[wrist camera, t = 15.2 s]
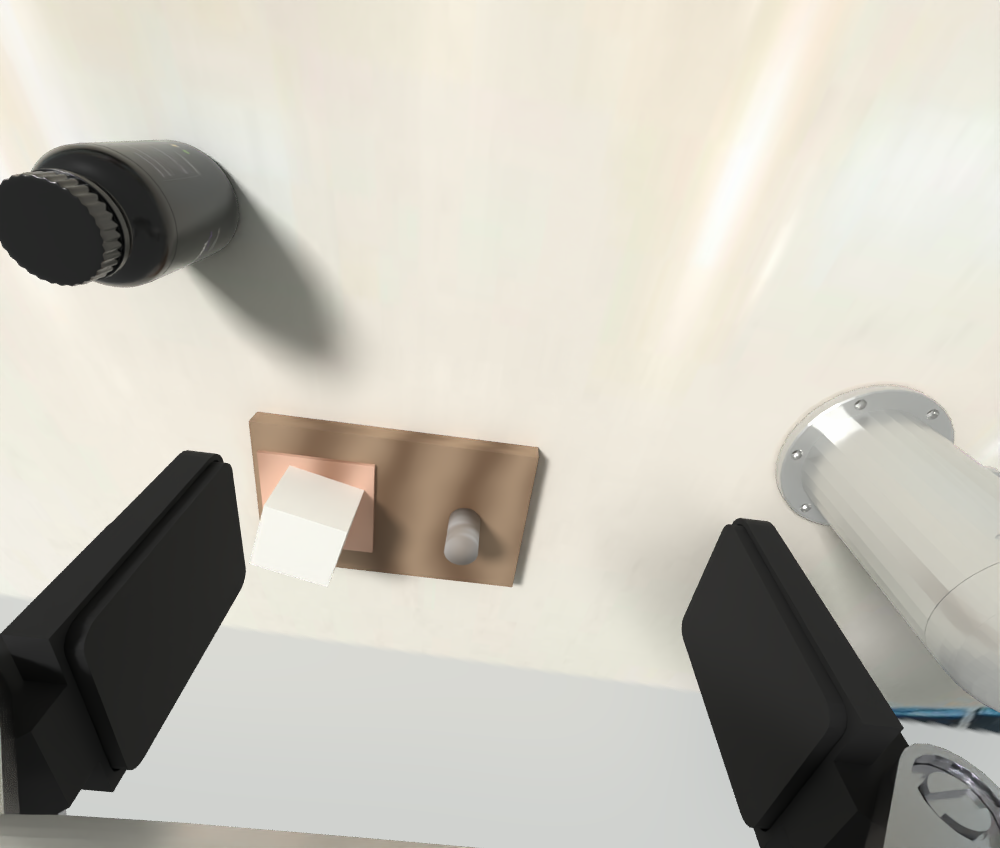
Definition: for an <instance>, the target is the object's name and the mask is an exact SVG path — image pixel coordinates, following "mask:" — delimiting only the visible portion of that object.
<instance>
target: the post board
mask: <svg viewBox="0 0 1000 848" xmlns="http://www.w3.org/2000/svg"><path fill="white" fill-rule="evenodd" d="M249 428H250V437H251V446H252V455H253V464H254V473H255V482H256V491H257V500H258V509H259V518H260V519H261V515H262V511H263V507H264V504H265V503H266V501H267V500H268V498H269V497H270V495H271V494H272V492H273V490H274V489H275V487H276V486H277V484H278V483H279V481H280V479H281V478H282V476H283V475H284V473H285V472H286V470H287V469H288V467H289V465H291V466H294V467H297V468H299V469H302V470H305V471H308V472H311V473H314V474H317V475H320V476H323V477H326V478H329V479H332V480H335V481H338V482H341V483H344V484H347V485H350V486H353V487H356V488H359V489H362V490H364V492H363V495H362V498H361V500H360V503H359V506H358V509H357V511H356V514H355V517H354V520H353V522H352V525H351V528H350V531H349V533H348V536H347V539H346V541H345V544H344V547H343V549H342V552H341V554H340V557H339V559H338V562H337V564H336V567H339V568H348V569H357V570H366V571H375V572H383V573H392V574H401V575H410V576H419V577H428V578H436V579H445V580H454V581H463V582H472V583H480V584H489V585H498V586H507V587H512V585H513V580H514V576H515V571H516V566H517V561H518V556H519V551H520V547H521V542H522V537H523V532H524V527H525V522H526V518H527V513H528V508H529V503H530V498H531V493H532V488H533V484H534V479H535V474H536V469H537V464H538V459H539V454H538V447H530V446H522V445H514V444H506V443H498V442H491V441H483V440H475V439H467V438H459V437H451V436H443V435H435V434H427V433H420V432H412V431H404V430H396V429H388V428H380V427H372V426H364V425H357V424H349V423H341V422H333V421H325V420H317V419H309V418H301V417H293V416H286V415H278V414H270V413H262V412H257V413H256V414H255V415H254V416H253V417H252V418H251V419H250V421H249Z"/></svg>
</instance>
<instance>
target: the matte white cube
mask: <svg viewBox="0 0 1000 848" xmlns="http://www.w3.org/2000/svg"><path fill="white" fill-rule="evenodd" d="M363 492H364V490H362V489H359V488H356V487H353V486H350V485H347V484H344V483H341V482H338V481H335V480H332V479H329V478H326V477H323V476H320V475H317V474H314V473H311V472H308V471H305V470H302V469H299V468H297V467H294V466H291V465H289V467H288V469H287V470H286V472H285V473H284V475H283V476H282V478H281V479H280V481H279V483H278V484H277V486H276V487H275V489H274V490H273V492H272V494H271V495H270V497H269V498H268V500H267V501H266V503H265V504H264V507H263V511H262V515H261V519H260V522H259V526H258V530H257V534H256V538H255V542H254V546H253V550H252V554H251V558H250V562H249V564H251V565H255V566H258V567H261V568H265V569H268V570H271V571H275V572H278V573H281V574H285V575H288V576H291V577H295V578H298V579H301V580H305V581H308V582H312V583H315V584H318V585H322V586H325V587H328V585H329V582H330V580H331V577H332V575H333V572H334V569H335V567H336V564H337V562H338V559H339V557H340V554H341V552H342V549H343V547H344V544H345V541H346V539H347V536H348V533H349V531H350V528H351V525H352V522H353V520H354V517H355V514H356V511H357V509H358V506H359V503H360V500H361V498H362V495H363Z"/></svg>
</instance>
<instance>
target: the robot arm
mask: <svg viewBox="0 0 1000 848" xmlns="http://www.w3.org/2000/svg"><path fill="white" fill-rule="evenodd" d="M776 479H777V485H778V488H779V490H780V492H781V494H782V496H783V498H784V499H785V500H786V502H787V503H788V504H789V506H790V507H791V508H792V509H793V510H794V511H795V512H796V513H797V514H799V515H800V516H802V517H804V518H806V519H808V520H810V521H812V522H816V523H819V524H822V525H830V526H831V527H832V528H833V529H834V531H835V532H836V533H837V534H838V536H839V537H840V538H841V539H842V541H843V542H844V543H845V545H846V546H847V547H848V548H849V550H850V551H851V552H852V554H853V555H854V556H855V557H856V559H857V560H858V561H859V562H860V564H861V565H862V566H863V568H864V569H865V570H866V571H867V573H868V574H869V575H870V577H871V578H872V579H873V580H874V582H875V583H876V584H877V585H878V587H879V588H880V589H881V591H882V592H883V593H884V594H885V596H886V597H887V598H888V600H889V601H890V602H891V603H892V605H893V606H894V607H895V609H896V610H897V611H898V612H899V614H900V615H901V616H902V617H903V619H904V620H905V621H906V623H907V624H908V625H909V626H910V628H911V629H912V630H913V632H914V633H915V634H916V635H917V637H918V638H919V639H920V640H921V642H922V643H923V644H924V646H925V647H926V648H927V649H928V651H929V652H930V653H931V654H932V656H933V657H934V658H935V659H936V661H937V662H938V663H939V664H940V666H941V667H942V668H943V669H944V671H945V672H946V673H947V674H948V675H949V676H950V677H951V678H952V680H953V681H954V682H955V683H956V684H958V685H959V686H960V687H961V688H962V689H963V690H964V691H966V692H967V693H968V694H970V695H971V696H972V697H974V698H975V699H977V700H978V701H980V702H981V703H982V704H984V705H986V706H988V707H990V708H992V709H994V710H996V711H998V712H1000V472H999V471H998V470H997V469H996V468H993V467H988V466H983V465H982V464H980V463H979V462H978V461H976V460H975V459H974V458H972V457H971V456H969V455H968V454H967V453H965V452H964V451H963V450H961V449H960V448H959V447H957V446H956V445H955V444H954V428H953V425H952V421H951V418H950V417H949V415H948V414H947V412H946V411H945V409H944V408H943V407H942V406H940V405H939V404H938V403H937V402H936V401H935V400H933V399H932V398H930V397H928V396H927V395H925V394H924V393H922V392H920V391H917V390H914V389H912V388H909V387H904V386H896V385H875V386H870V387H864V388H859V389H856V390H853V391H850V392H847V393H844V394H841V395H839V396H837V397H835V398H833V399H831V400H829V401H827V402H825V403H824V404H822V405H821V406H819V407H818V408H816V409H815V410H814V411H812V412H811V413H809V414H808V415H807V416H806V417H805V418H804V419H803V420H802V421H801V422H800V423H799V424H798V425H797V426H796V427H795V428H794V430H793V431H792V432H791V433H790V435H789V436H788V437H787V439H786V441H785V443H784V445H783V447H782V448H781V450H780V453H779V457H778V460H777V464H776ZM245 573H246V568H245V560H244V553H243V546H242V538H241V531H240V523H239V516H238V509H237V501H236V494H235V486H234V479H233V472H232V467H231V465H230V464H228V463H224V462H223V459H222V457H221V456H220V455H218V454H213V453H205V452H197V451H188V450H187V451H183V452H182V453H180V454H179V455H178V456H177V457H176V458H175V459H174V460H173V461H172V462H171V463H170V464H169V465H168V466H167V467H166V468H165V469H164V470H163V471H162V472H161V473H160V474H159V475H158V476H157V477H156V478H155V479H154V480H153V481H152V482H151V483H150V484H149V485H148V486H147V487H146V488H145V490H144V491H143V492H142V493H141V494H140V495H139V496H138V497H137V498H136V499H135V500H134V501H133V502H132V503H131V504H130V505H129V506H128V507H127V508H126V509H125V510H124V511H123V512H122V513H121V514H120V515H119V516H118V517H117V518H116V519H115V520H114V521H113V522H112V523H110V524H109V525H108V526H107V527H106V528H105V529H104V530H103V531H102V532H101V533H100V534H99V535H98V536H97V537H96V538H95V539H94V540H93V541H92V542H91V543H90V544H89V545H88V546H87V547H86V548H85V549H84V550H83V551H82V552H81V553H80V554H79V555H78V556H77V557H76V558H75V559H74V560H73V561H72V562H71V563H70V564H69V565H68V566H67V567H66V568H65V569H64V570H63V571H62V572H61V573H60V574H59V575H58V576H57V577H56V578H55V579H54V580H53V581H52V582H51V583H50V584H49V585H48V586H47V587H46V588H45V589H44V590H43V591H42V592H41V593H40V594H39V595H38V596H37V597H36V598H35V599H34V600H33V601H32V602H31V603H30V605H28V606H27V608H26V609H25V610H24V611H23V612H22V613H21V614H20V615H19V616H18V617H17V618H16V619H15V620H14V621H13V622H12V623H11V624H10V625H9V626H8V627H7V628H6V629H5V630H4V631H3V632H2V633H1V634H0V848H473V847H462V846H450V845H439V844H427V843H415V842H404V841H393V840H381V839H371V838H359V837H346V836H335V835H323V834H311V833H298V832H287V831H275V830H274V831H273V830H262V829H251V828H238V827H226V826H215V825H203V824H191V823H178V822H162V821H147V820H131V819H115V818H99V817H84V816H67V815H66V809H67V808H69V807H70V806H71V804H72V802H73V801H74V800H75V798H76V796H77V795H78V793H79V792H80V790H81V789H83V790H94V791H106V792H113V791H114V790H115V788H116V786H117V785H118V783H119V781H120V780H121V778H122V776H123V774H124V773H125V771H126V770H133V769H134V768H136V767H137V766H138V765H139V764H140V763H141V761H142V760H143V758H144V757H145V755H146V753H147V751H148V749H149V748H150V746H151V745H152V743H153V741H154V739H155V737H156V736H157V734H158V732H159V731H160V729H161V727H162V725H163V724H164V722H165V720H166V718H167V717H168V715H169V713H170V711H171V710H172V708H173V706H174V705H175V703H176V701H177V699H178V698H179V696H180V694H181V692H182V691H183V689H184V687H185V685H186V684H187V682H188V680H189V679H190V677H191V675H192V673H193V671H194V670H195V668H196V666H197V665H198V663H199V661H200V659H201V658H202V656H203V654H204V652H205V651H206V649H207V647H208V645H209V644H210V642H211V640H212V639H213V637H214V635H215V633H216V632H217V630H218V628H219V626H220V625H221V623H222V621H223V620H224V618H225V616H226V614H227V613H228V611H229V609H230V607H231V606H232V604H233V602H234V600H235V599H236V597H237V595H238V593H239V592H240V590H241V588H242V586H243V583H244V579H245ZM682 636H683V640H684V643H685V646H686V649H687V652H688V655H689V658H690V661H691V664H692V667H693V670H694V673H695V676H696V679H697V682H698V685H699V688H700V691H701V694H702V697H703V700H704V703H705V706H706V710H707V712H708V716H709V719H710V722H711V725H712V728H713V731H714V734H715V737H716V740H717V743H718V746H719V749H720V752H721V755H722V758H723V761H724V764H725V767H726V770H727V773H728V776H729V779H730V782H731V786H732V789H733V792H734V795H735V798H736V801H737V804H738V807H739V809H740V813H741V815H742V818H743V820H744V821H745V823H746V824H747V825H748V826H749V827H751V828H754V831H755V834H756V837H757V840H758V842H759V846H760V848H1000V788H999V787H998V786H997V785H995V784H994V783H993V782H992V781H991V780H990V779H989V778H988V777H987V776H986V775H985V774H983V772H981V771H980V770H979V769H977V768H976V767H975V766H973V765H972V764H970V763H969V762H968V761H966V760H965V759H963V758H962V757H960V756H958V755H956V754H954V753H952V752H950V751H948V750H946V749H944V748H940V747H936V746H933V745H930V744H913V745H911V746H909V745H908V744H907V742H906V740H905V739H904V737H903V736H902V734H901V731H902V730H903V726H902V725H901V723H900V722H899V720H898V718H897V717H896V715H895V714H894V712H893V711H892V709H891V708H890V706H889V704H888V703H887V701H886V700H885V698H884V697H883V695H882V693H881V692H880V690H879V689H878V687H877V686H876V684H875V683H874V681H873V679H872V678H871V676H870V675H869V673H868V672H867V670H866V669H865V667H864V665H863V664H862V662H861V661H860V659H859V658H858V656H857V655H856V653H855V651H854V650H853V648H852V647H851V645H850V644H849V642H848V641H847V639H846V637H845V636H844V634H843V633H842V631H841V630H840V628H839V627H838V625H837V623H836V622H835V620H834V619H833V617H832V616H831V614H830V613H829V611H828V609H827V608H826V606H825V605H824V603H823V602H822V600H821V599H820V597H819V595H818V594H817V592H816V591H815V589H814V588H813V586H812V585H811V583H810V581H809V580H808V578H807V577H806V575H805V574H804V572H803V570H802V569H801V567H800V566H799V564H798V563H797V561H796V560H795V558H794V556H793V555H792V553H791V552H790V550H789V549H788V547H787V546H786V544H785V542H784V541H783V539H782V538H781V536H780V535H779V533H778V532H777V530H776V528H775V527H774V526H773V525H772V524H771V523H770V522H767V521H760V520H752V519H743V518H739V519H736V520H735V521H734V522H733V524H732V525H730V524H729V525H726V526H725V527H724V528H723V530H722V532H721V535H720V537H719V539H718V541H717V544H716V546H715V548H714V550H713V552H712V555H711V557H710V559H709V561H708V564H707V566H706V568H705V570H704V573H703V575H702V577H701V579H700V582H699V584H698V586H697V588H696V591H695V593H694V595H693V597H692V600H691V602H690V604H689V606H688V609H687V611H686V613H685V615H684V618H683V621H682Z"/></svg>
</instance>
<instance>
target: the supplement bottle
mask: <svg viewBox="0 0 1000 848" xmlns="http://www.w3.org/2000/svg"><path fill="white" fill-rule="evenodd" d="M238 217H239V210H238V202H237V198H236V195H235V192H234V189H233V187H232V185H231V183H230V181H229V179H228V178H227V176H226V174H225V173H224V172H223V170H222V169H221V168H220V167H219V166H218V165H217V164H216V163H215V162H214V161H213V160H212V159H211V158H210V157H209V156H207V155H206V154H205V153H203V152H202V151H200V150H199V149H197V148H195V147H193V146H191V145H188V144H185V143H182V142H178V141H172V140H144V141H119V142H94V143H76V144H68V145H63V146H59V147H57V148H54V149H52V150H50V151H49V152H47V153H46V154H44V155H43V156H42V157H41V158H40V159H39V160H38V161H37V162H36V164H35V165H34V167H33V168H32V170H31V172H26V173H22V174H16V175H12V176H11V177H10V178H9V179H4V180H3V181H2V183H1V185H0V241H1V243H2V246H3V248H4V249H5V250H7V251H8V253H9V255H10V257H11V258H13V259H14V260H16V261H17V263H18V264H19V265H20V266H21V267H23V268H25V269H26V270H27V271H28V272H29V273H30V274H33V275H36V276H37V277H38V278H40V279H42V280H46V281H48V282H50V283H53V284H54V283H57V284H59V285H61V286H65V285H69V286H76V285H79V284H87V283H89V282H92V281H94V282H97V283H100V284H103V285H107V286H113V287H135V286H140V285H143V284H146V283H149V282H152V281H154V280H156V279H159V278H161V277H163V276H165V275H168V274H170V273H172V272H174V271H177V270H179V269H181V268H184V267H186V266H188V265H190V264H193V263H195V262H197V261H199V260H202V259H204V258H206V257H208V256H210V255H212V254H214V253H216V252H218V251H220V250H221V249H223V248H224V247H225V246H226V245H227V244H228V243H229V242H230V240H231V239H232V237H233V236H234V234H235V231H236V228H237V225H238Z"/></svg>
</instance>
